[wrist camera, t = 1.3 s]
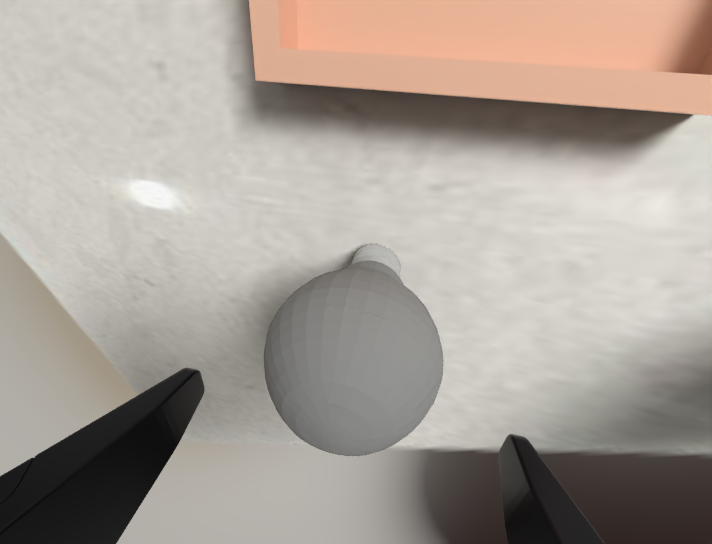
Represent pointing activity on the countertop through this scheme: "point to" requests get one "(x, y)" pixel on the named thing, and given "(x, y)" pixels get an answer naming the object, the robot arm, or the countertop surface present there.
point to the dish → (495, 49)
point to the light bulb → (354, 357)
